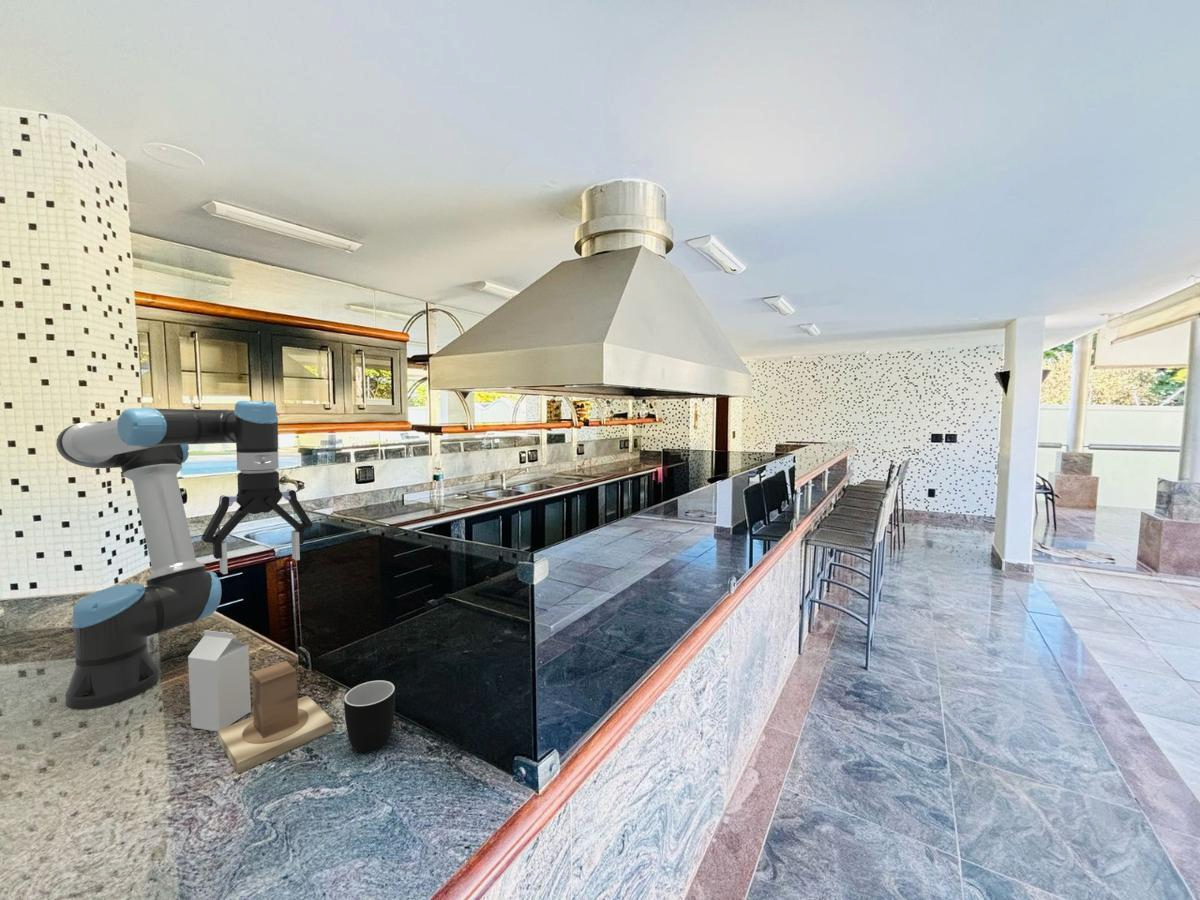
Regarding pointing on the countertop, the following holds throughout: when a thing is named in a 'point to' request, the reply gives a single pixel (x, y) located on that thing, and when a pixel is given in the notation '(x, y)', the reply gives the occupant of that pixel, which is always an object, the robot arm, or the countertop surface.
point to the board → (272, 736)
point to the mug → (369, 715)
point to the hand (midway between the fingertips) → (261, 565)
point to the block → (275, 698)
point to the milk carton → (219, 681)
